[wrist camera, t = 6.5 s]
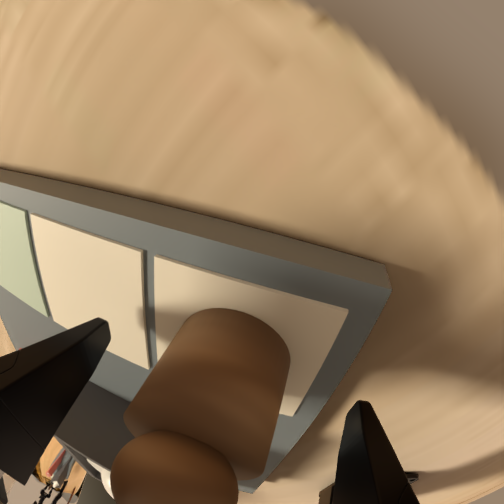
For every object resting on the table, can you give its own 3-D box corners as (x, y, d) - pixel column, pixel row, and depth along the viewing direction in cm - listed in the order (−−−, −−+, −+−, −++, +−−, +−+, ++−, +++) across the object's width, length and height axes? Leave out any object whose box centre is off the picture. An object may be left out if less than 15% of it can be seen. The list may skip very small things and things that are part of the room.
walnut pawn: (306, 331, 9) (251, 564, 3) (273, 400, 10) (223, 558, 5) (183, 291, 9) (48, 474, 3) (178, 367, 11) (97, 506, 5)
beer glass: (56, 409, 26) (-1, 489, 13) (74, 409, 23) (7, 507, 10) (96, 444, 27) (47, 524, 14) (121, 448, 24) (67, 544, 11)
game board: (384, 264, 9) (423, 430, 4) (256, 479, 19) (238, 536, 14) (-18, 165, 11) (-90, 199, 6) (48, 385, 22) (17, 423, 17)
